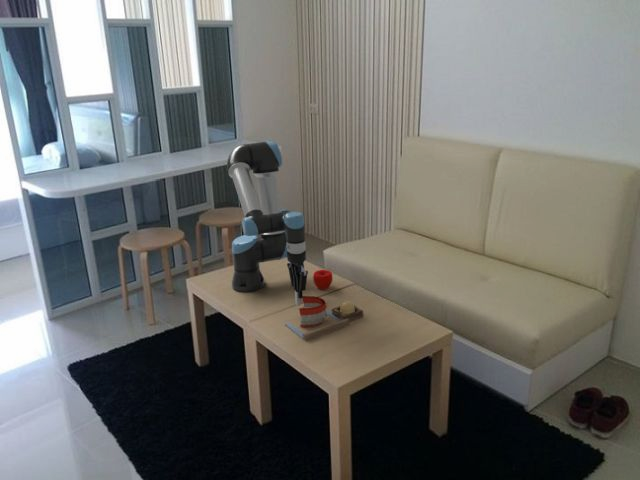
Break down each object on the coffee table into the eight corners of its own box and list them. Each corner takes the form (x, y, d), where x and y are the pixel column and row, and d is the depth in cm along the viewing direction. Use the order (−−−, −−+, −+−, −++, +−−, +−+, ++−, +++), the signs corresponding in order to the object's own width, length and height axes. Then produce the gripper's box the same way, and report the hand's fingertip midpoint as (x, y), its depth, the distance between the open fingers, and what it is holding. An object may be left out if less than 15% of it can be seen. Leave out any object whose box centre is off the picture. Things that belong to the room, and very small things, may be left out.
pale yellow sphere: (337, 314, 234) (336, 301, 232) (349, 310, 237) (348, 297, 235) (345, 320, 229) (345, 306, 227) (357, 315, 232) (357, 302, 230)
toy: (326, 328, 225) (325, 309, 222) (299, 328, 226) (298, 309, 223) (328, 313, 236) (327, 295, 234) (303, 313, 237) (302, 295, 235)
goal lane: (285, 325, 228) (284, 319, 228) (327, 310, 239) (327, 305, 238) (305, 340, 216) (304, 335, 215) (349, 325, 226) (349, 319, 225)
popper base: (332, 315, 235) (332, 308, 234) (350, 309, 239) (350, 302, 238) (344, 323, 227) (344, 316, 226) (363, 317, 232) (363, 310, 231)
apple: (336, 288, 258) (336, 272, 256) (320, 293, 254) (319, 277, 251) (326, 282, 266) (325, 266, 263) (310, 287, 261) (309, 271, 259)
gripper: (280, 248, 232) (283, 301, 239) (296, 257, 221) (299, 312, 229) (296, 244, 235) (299, 296, 243) (312, 253, 225) (315, 307, 233)
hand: (299, 304), depth 236 cm, fingers closed
